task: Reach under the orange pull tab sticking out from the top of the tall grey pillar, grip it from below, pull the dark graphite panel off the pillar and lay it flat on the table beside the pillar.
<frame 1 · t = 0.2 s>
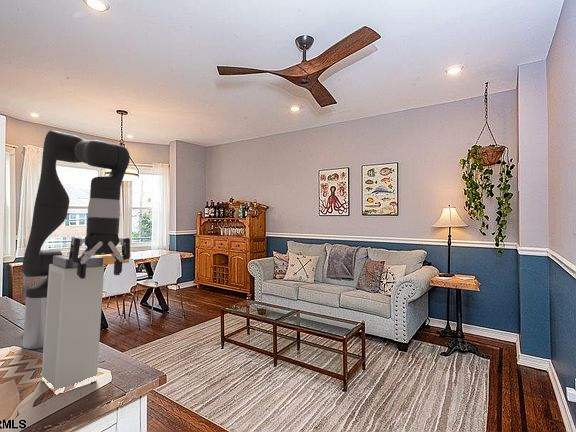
hand: (100, 276, 84), 30 cm above the table, tool pointing down, fingers open, 8 cm apart
tall grey pillar: (68, 380, 87), on the table
graphite panel: (77, 265, 88), point 32 cm above the table, touching tall grey pillar
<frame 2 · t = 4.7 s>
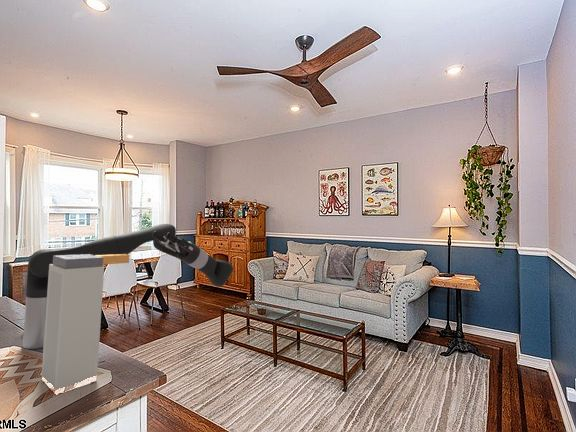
hand: (159, 234, 107), 41 cm above the table, tool pointing upward, fingers open, 8 cm apart
nothing on the table moved.
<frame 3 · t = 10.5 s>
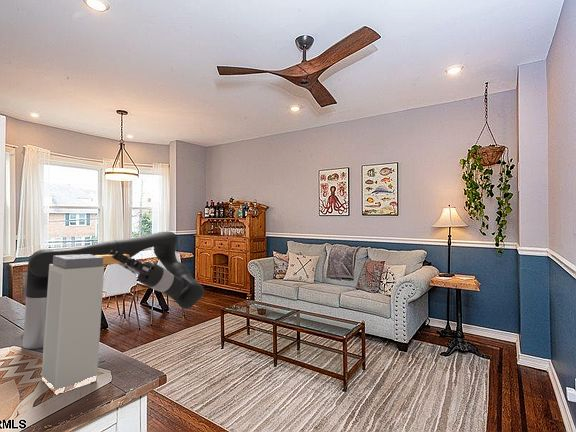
hand: (112, 254, 95), 35 cm above the table, tool pointing upward, fingers closed on graphite panel, 3 cm apart
graphite panel: (77, 265, 88), point 32 cm above the table, touching gripper, tall grey pillar
everything else where it was.
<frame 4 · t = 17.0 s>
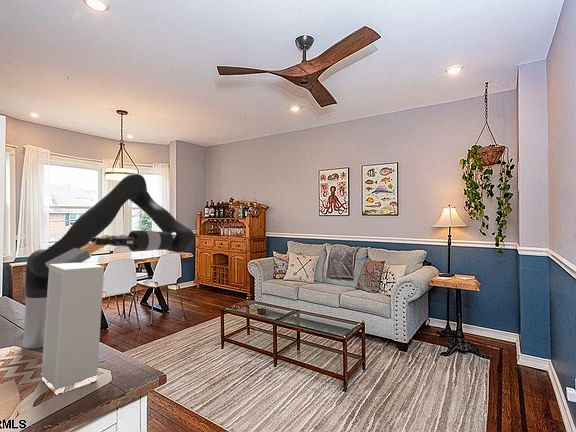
hand: (94, 241, 103), 38 cm above the table, tool horizontal, fingers closed on graphite panel, 3 cm apart
graphite panel: (70, 263, 98), point 31 cm above the table, tilted 30°, touching gripper
everything else where it was.
when the fingers open (10 cm above the table, at t = 22.6 s): graphite panel drops 4 cm, on the table.
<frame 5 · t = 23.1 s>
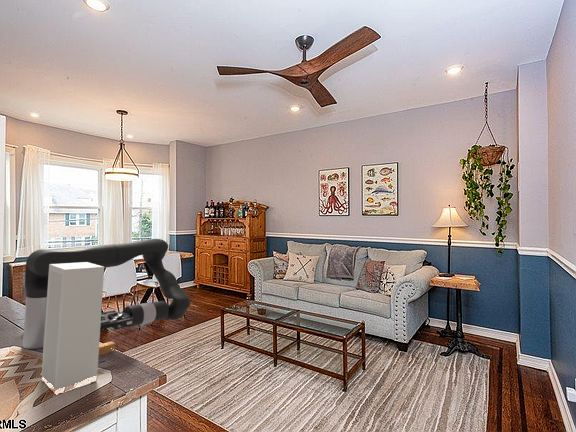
hand: (91, 324, 103), 11 cm above the table, tool horizontal, fingers open, 8 cm apart
graphite panel: (67, 362, 98), on the table
everything else where it was.
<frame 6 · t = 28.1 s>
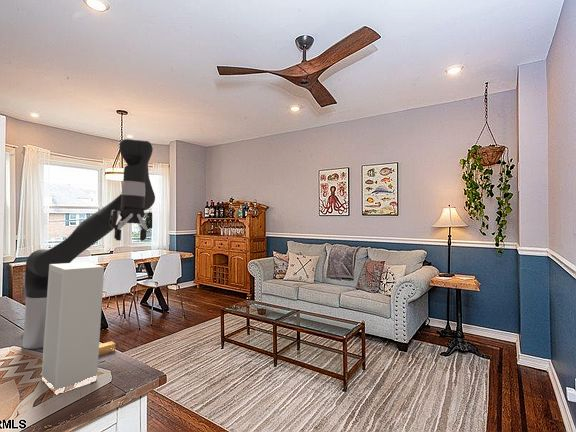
hand: (130, 240, 111), 38 cm above the table, tool pointing down, fingers open, 8 cm apart
nothing on the table moved.
at the end: graphite panel inside the target area (3.6 cm from its centre), on the table; graphite panel tilted 1°; the gripper is holding nothing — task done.
